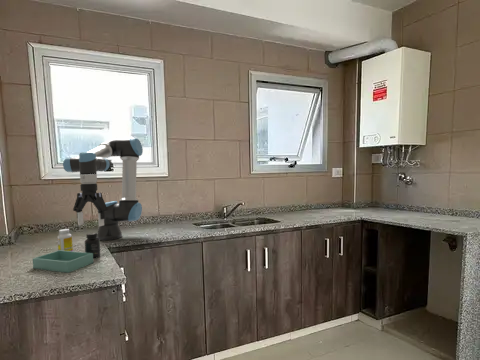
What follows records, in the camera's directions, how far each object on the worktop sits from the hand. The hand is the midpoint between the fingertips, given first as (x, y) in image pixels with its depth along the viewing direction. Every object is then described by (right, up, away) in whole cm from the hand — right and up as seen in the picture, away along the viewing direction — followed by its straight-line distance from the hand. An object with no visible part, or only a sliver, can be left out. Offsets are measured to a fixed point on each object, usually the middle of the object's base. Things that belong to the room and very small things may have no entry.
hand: (90, 225), depth 149 cm
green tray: (-7, -17, -11) cm, 21 cm away
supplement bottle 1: (-18, -17, +9) cm, 26 cm away
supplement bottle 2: (+1, -16, +1) cm, 16 cm away
